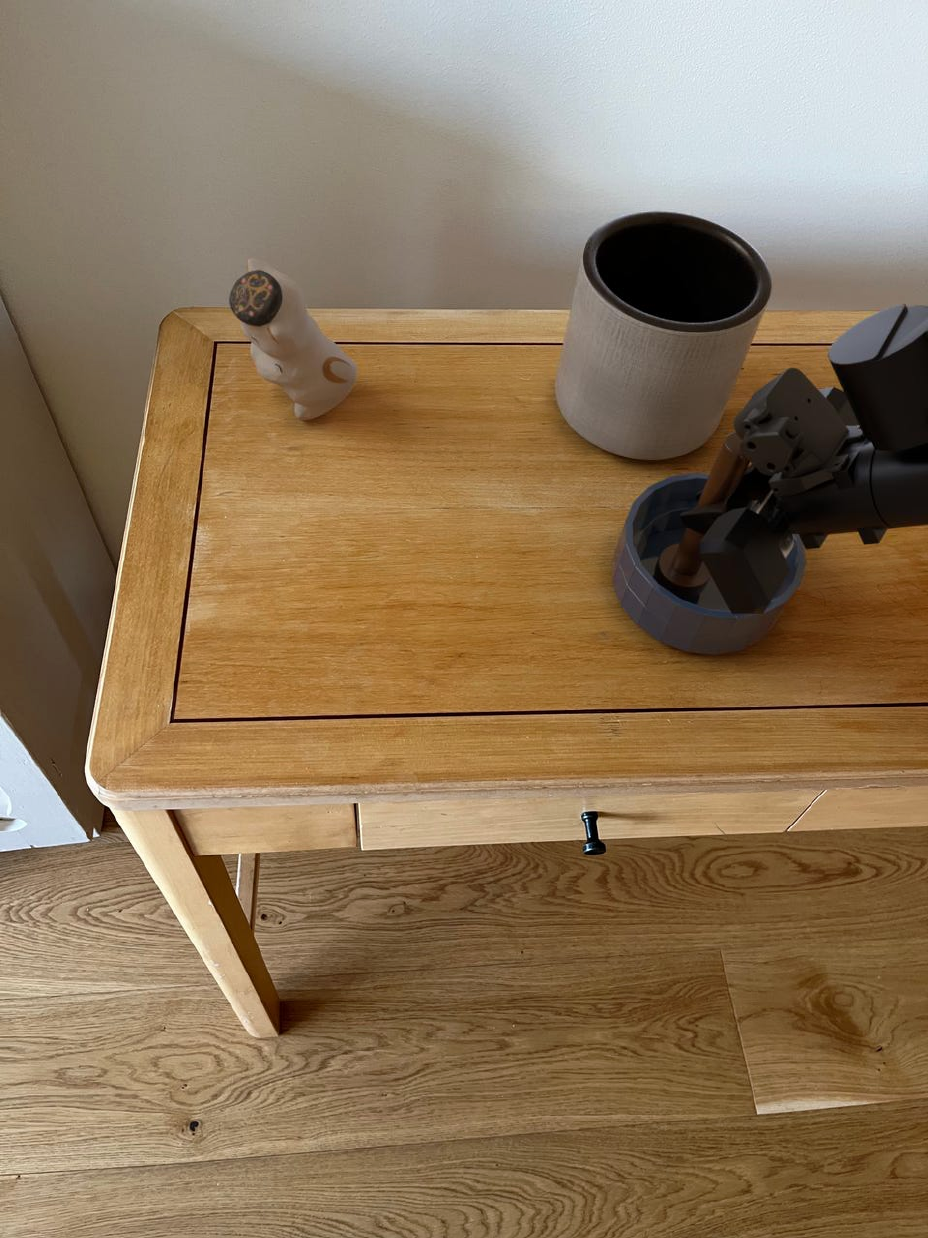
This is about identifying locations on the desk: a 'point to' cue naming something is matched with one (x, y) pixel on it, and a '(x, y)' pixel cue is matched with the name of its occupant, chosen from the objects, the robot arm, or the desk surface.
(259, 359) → the figurine
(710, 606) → the bowl
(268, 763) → the desk surface
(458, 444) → the desk surface
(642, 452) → the planter
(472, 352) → the desk surface
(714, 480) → the stirring stick
